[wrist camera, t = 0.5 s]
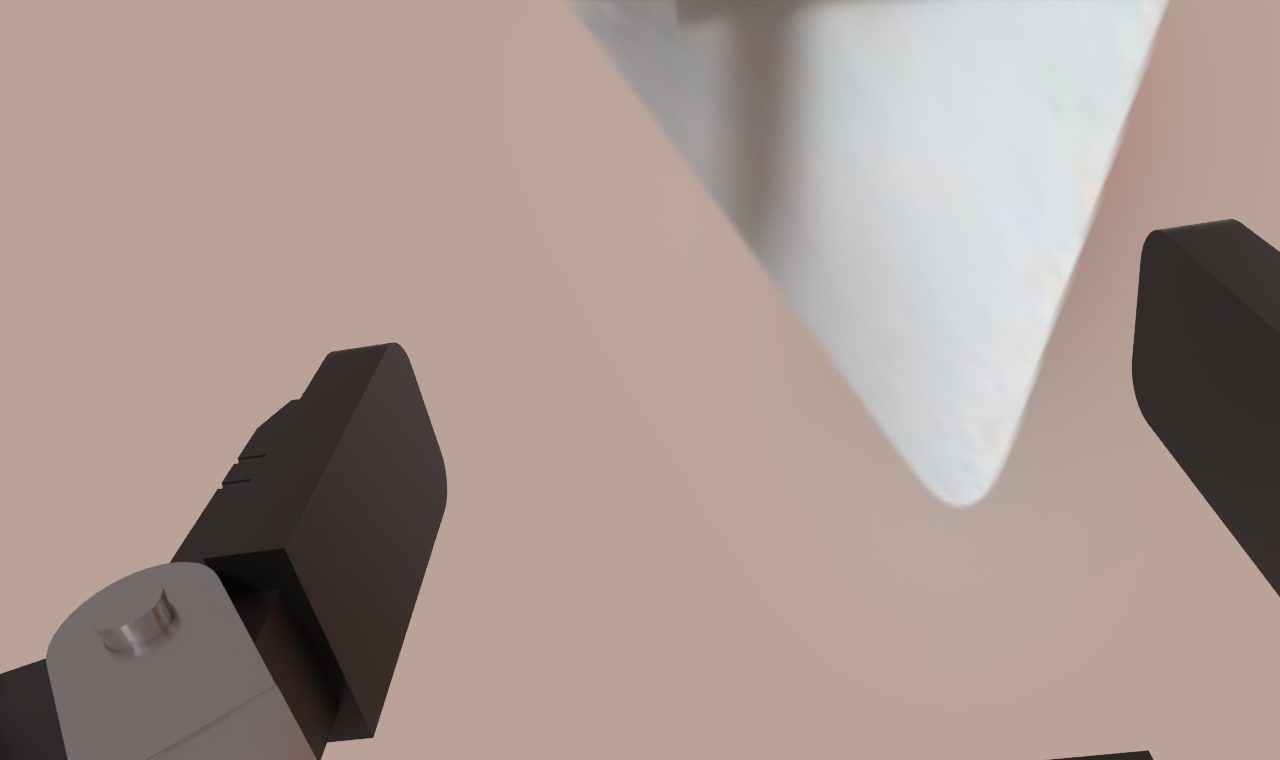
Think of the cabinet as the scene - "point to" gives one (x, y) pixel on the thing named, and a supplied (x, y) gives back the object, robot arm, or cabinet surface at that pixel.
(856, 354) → the cabinet surface
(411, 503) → the robot arm
